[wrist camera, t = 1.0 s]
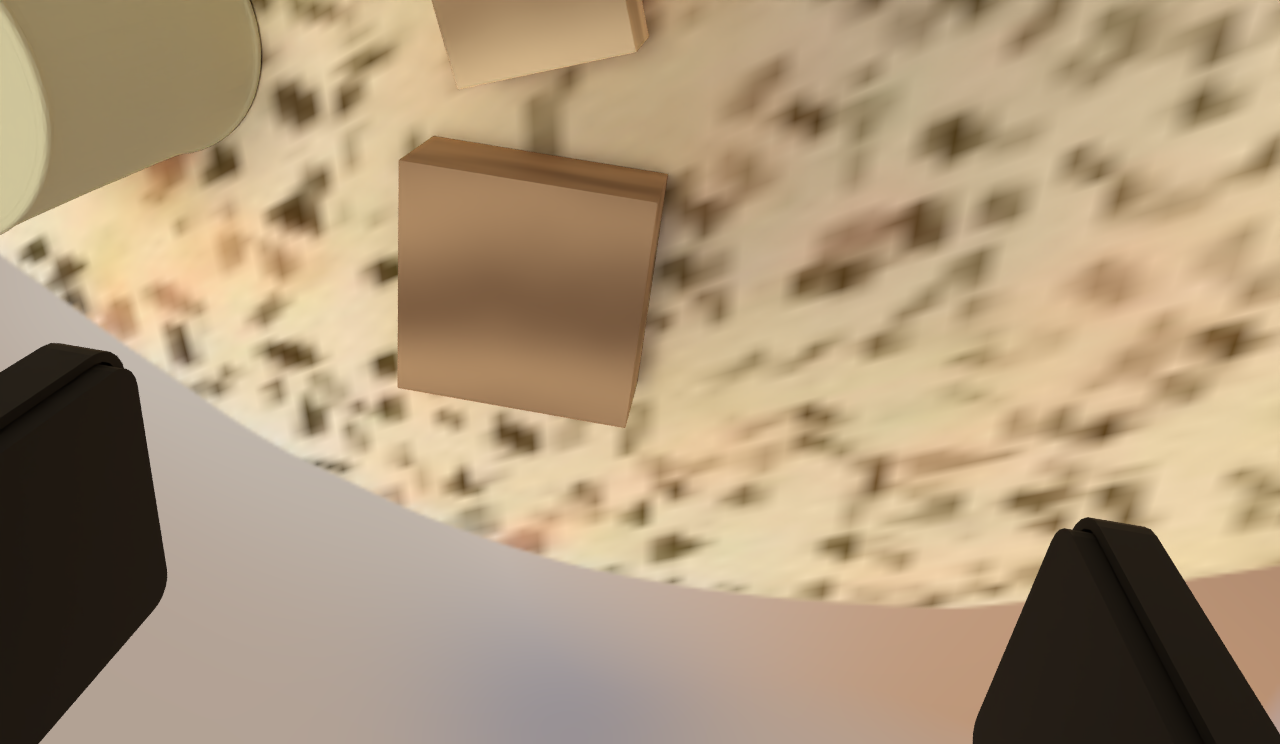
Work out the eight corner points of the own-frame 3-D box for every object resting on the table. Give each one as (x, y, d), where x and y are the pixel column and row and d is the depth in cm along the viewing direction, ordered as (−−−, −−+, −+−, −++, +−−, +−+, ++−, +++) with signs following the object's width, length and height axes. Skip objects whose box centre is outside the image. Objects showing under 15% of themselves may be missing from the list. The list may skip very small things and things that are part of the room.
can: (77, 160, 37) (-202, 264, 26) (-18, -96, 32) (-397, -97, 22) (291, 144, 35) (88, 247, 25) (219, -126, 31) (-62, -142, 20)
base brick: (436, 134, 35) (398, 160, 31) (668, 172, 34) (657, 202, 31) (431, 343, 39) (397, 387, 35) (638, 380, 38) (625, 428, 35)
